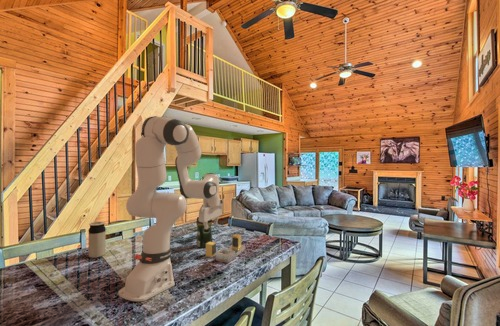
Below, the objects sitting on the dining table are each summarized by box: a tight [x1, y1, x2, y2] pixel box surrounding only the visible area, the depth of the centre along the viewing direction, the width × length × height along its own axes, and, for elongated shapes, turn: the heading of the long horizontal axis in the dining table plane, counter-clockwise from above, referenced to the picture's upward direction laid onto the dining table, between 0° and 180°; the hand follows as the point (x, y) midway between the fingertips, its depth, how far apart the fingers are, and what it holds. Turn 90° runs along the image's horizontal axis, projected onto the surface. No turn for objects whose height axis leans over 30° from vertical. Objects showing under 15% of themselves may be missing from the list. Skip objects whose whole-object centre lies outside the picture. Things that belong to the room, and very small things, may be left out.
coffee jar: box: [195, 216, 213, 249], centre depth 152 cm, size 10×8×19 cm
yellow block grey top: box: [205, 241, 217, 258], centre depth 136 cm, size 4×4×7 cm
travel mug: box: [88, 220, 107, 259], centre depth 135 cm, size 8×8×18 cm
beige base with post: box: [215, 233, 246, 264], centre depth 138 cm, size 22×8×9 cm, turn 158°
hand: (211, 226), depth 136 cm, fingers open, 8 cm apart
